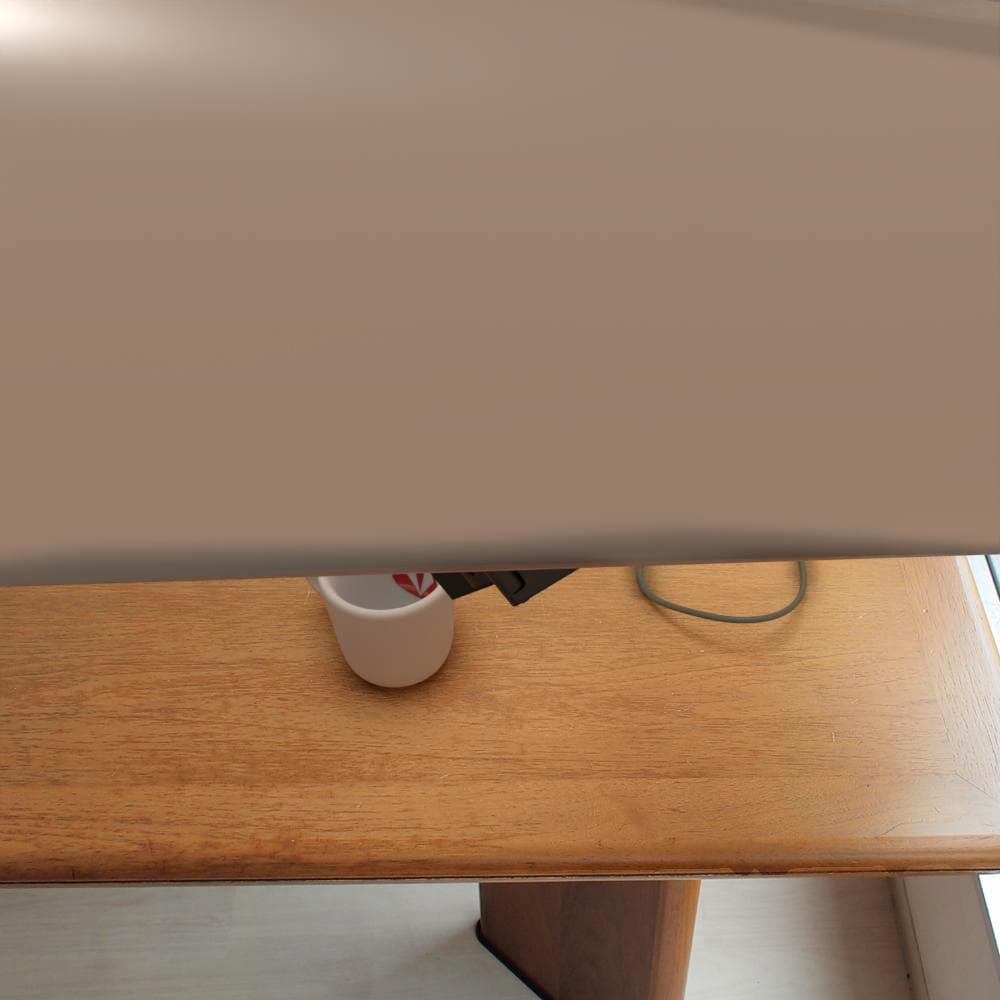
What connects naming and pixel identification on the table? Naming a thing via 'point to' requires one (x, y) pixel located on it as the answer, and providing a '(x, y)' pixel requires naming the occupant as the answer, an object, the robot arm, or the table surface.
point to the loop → (721, 617)
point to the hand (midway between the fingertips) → (521, 483)
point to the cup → (390, 624)
